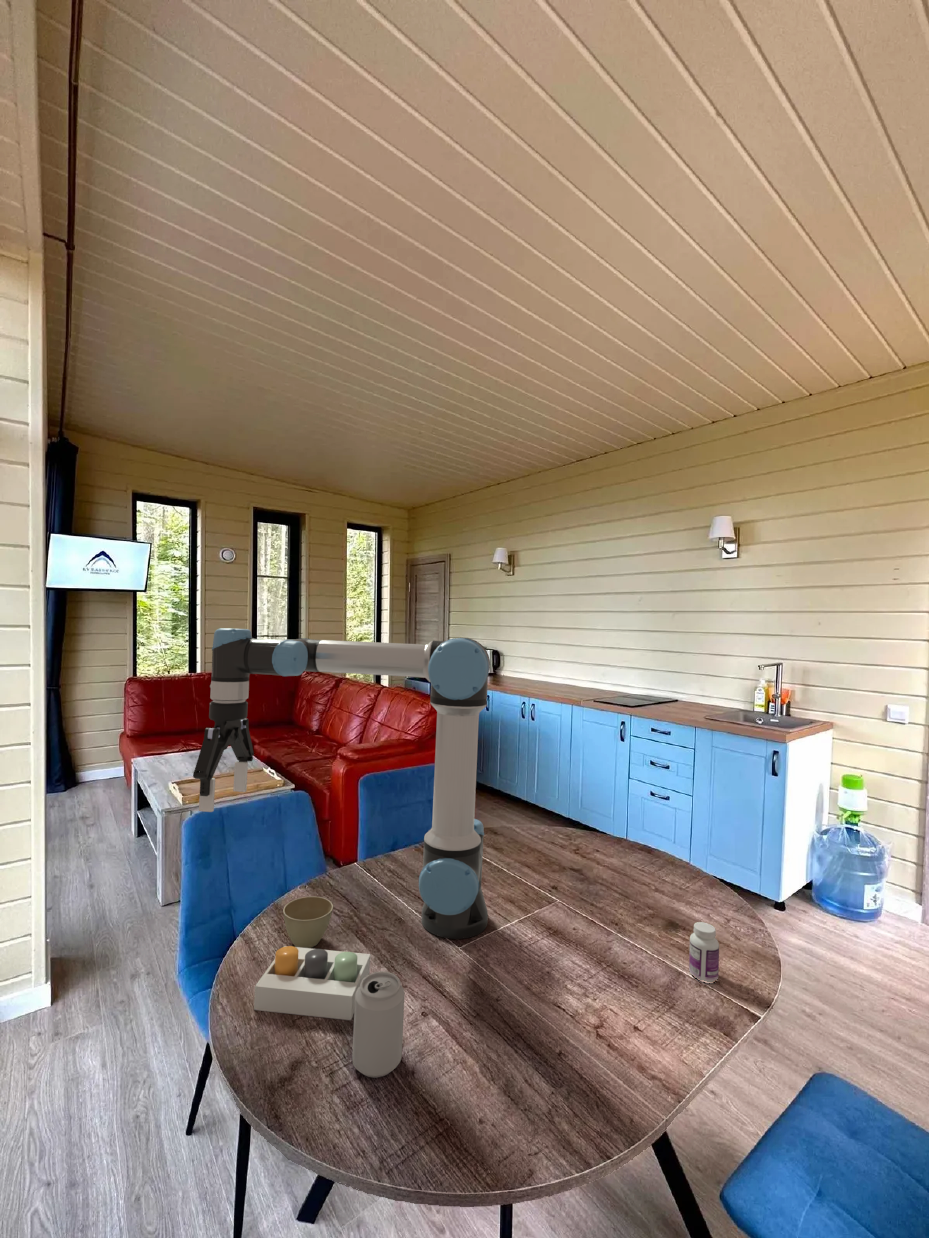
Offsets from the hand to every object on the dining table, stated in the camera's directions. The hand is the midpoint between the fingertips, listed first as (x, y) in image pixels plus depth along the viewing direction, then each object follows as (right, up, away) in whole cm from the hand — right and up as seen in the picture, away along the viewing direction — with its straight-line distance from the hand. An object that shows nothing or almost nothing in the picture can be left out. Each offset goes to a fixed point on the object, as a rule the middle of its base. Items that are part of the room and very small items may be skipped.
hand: (224, 800), depth 116 cm
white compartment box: (+24, -29, -17) cm, 41 cm away
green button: (+30, -27, -18) cm, 44 cm away
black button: (+24, -26, -17) cm, 40 cm away
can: (+38, -29, -33) cm, 58 cm away
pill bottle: (+99, -32, -8) cm, 104 cm away
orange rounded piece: (+19, -26, -17) cm, 36 cm away
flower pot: (+18, -29, -2) cm, 34 cm away
